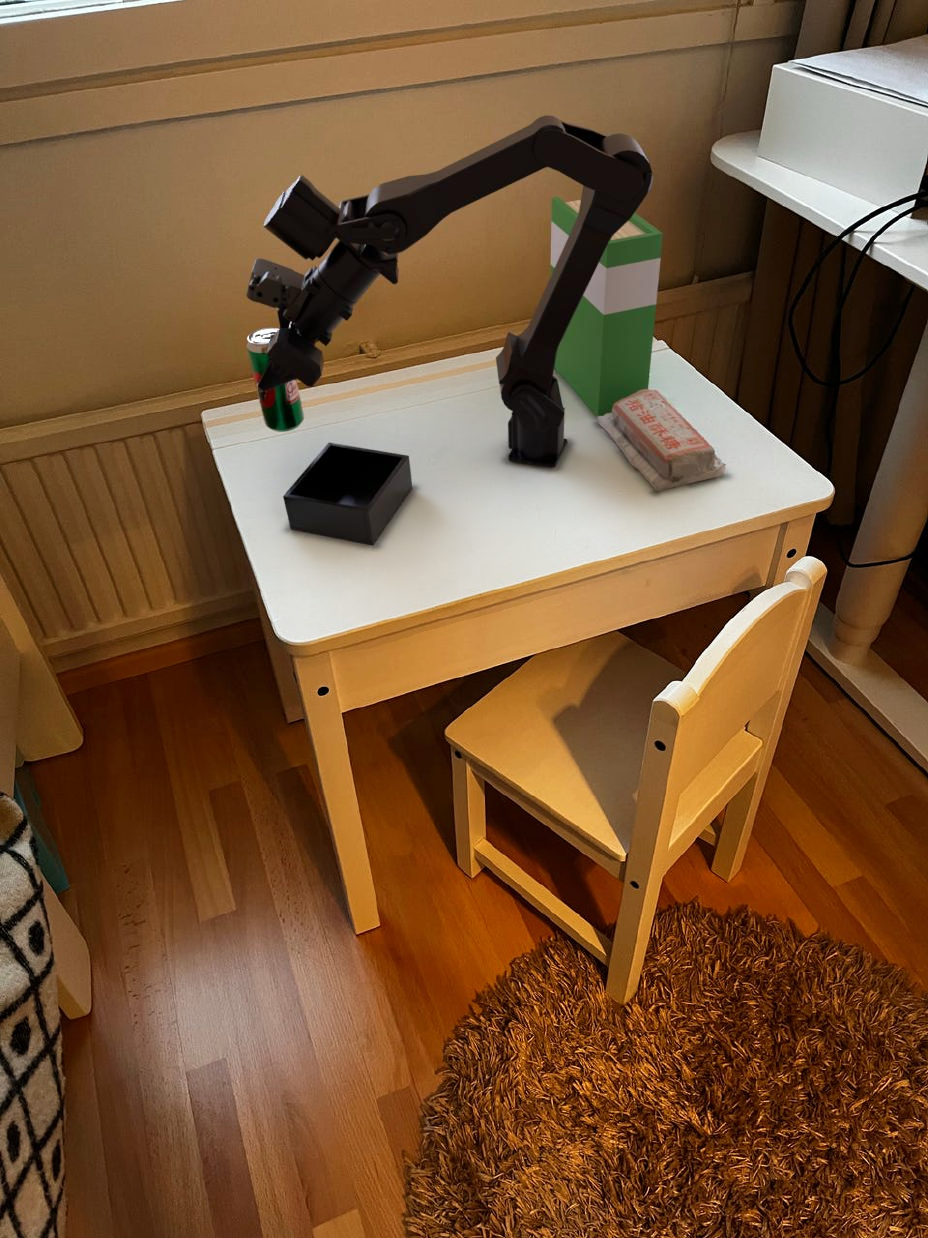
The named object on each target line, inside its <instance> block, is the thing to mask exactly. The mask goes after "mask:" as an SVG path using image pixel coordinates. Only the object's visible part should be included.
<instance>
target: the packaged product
mask: <svg viewBox="0 0 928 1238" xmlns="http://www.w3.org/2000/svg"><path fill="white" fill-rule="evenodd" d="M596 417H597V423H598V424H599V425H600V426H601V428H603V429H604V430H605V431H606V432H607V433H608V434H609V436H610V437H611V439H612V440H613V441H614V442H615V444H616V445H617V446H618V448H619V449H620V450H621V451H622V453H623V454H624V456H625V458H626V459H627V461H628V463H629V464H630V465H631V466H632V467H634V468H635V469H637V470H638V471H639V472H640V473H641V474H642V475H643V477H644V478H645V479H646V480H647V481H648V483H649V484H650V485H651V486H652V487H653V489H654V490H655V491H663V490H666V489H670V488H674V487H679V486H683V485H684V486H685V485H688V484H693V483H697V482H701V481H705V480H709V479H714V478H718V477H722V476H725V473H726V472H725V471H726V466H727V464H726V463H724V462H722V459H721V458H720V457H719V456H718V455H717V454H716V451H715V448H714V447H712V445H710V443H709V442H708V441H707V440H706V439H705V438H704V437H703V436H702V435H701V433H699V432H698V430H697V429H695V428H694V427H693V426H692V424H691V423H690V422H689V421H687V419H685V418H684V417H683V415H682V414H681V413H680V412H679V411H678V410H677V409H676V408H675V407H673V405H672V404H671V403H670V402H669V401H668V400H667V399H666V398H665V397H664V396H663V395H662V394H661V392H660V391H658V389H649V388H648V389H643V390H639V391H637V392H636V393H634V394H632V395H630V396H628V397H625V398H622V399H621V400H619V401H618V402H616V403H614V405H613V408H612V412H611V413H606V414H605V415H604V416H596Z"/></svg>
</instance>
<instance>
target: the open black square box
mask: <svg viewBox="0 0 928 1238" xmlns="http://www.w3.org/2000/svg"><path fill="white" fill-rule="evenodd" d="M412 490H413V480H412V471H411V461H410V455H407V454H401V453H396V452H395V453H394V452H390V451H383V450H378V449H377V450H376V449H370V448H364V447H360V446H353V445H348V444H347V445H346V444H341V443H334V442H327V444H326V445H325V446H324V447H323V448H322V450H321V451H320V452H319V453H318V454H317V456H316V457H315V458H314V459H313V460H312V461H311V463H310V464H309V465H308V466H307V467H306V468H305V470H304V471H303V472H302V473H301V474H300V476H299V477H298V478H297V479H296V480H295V481H294V482H293V484H292V485H291V486H290V487H289V488H288V490H287V491H286V492H285V493H284V494H283V496H282V498H283V502H284V506H285V511H286V516H287V519H288V524H289V528H290V530H291V531H297V532H302V533H306V534H312V535H317V536H322V537H327V538H331V539H337V540H341V541H346V542H347V541H348V542H352V543H356V544H362V545H368V546H372V547H374V546H375V544H376V543H377V542H378V540H379V538H381V535H382V534H383V532H384V531H385V529H386V528H387V527H388V526H389V524H390V522H391V521H392V520H393V518H394V517H395V515H396V514H397V512H398V511H399V509H400V508H401V507H402V505H403V503H404V502H405V501H406V499H407V498H408V496H409V494H410V493H411V492H412Z"/></svg>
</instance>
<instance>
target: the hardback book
mask: <svg viewBox="0 0 928 1238" xmlns="http://www.w3.org/2000/svg"><path fill="white" fill-rule="evenodd" d="M580 202H581V199H577V200H572V201H567V202H565V201H564V200H563V199H562V198H560V197H559V196H555V197H551V205H550V206H551V211H550V213H551V214H550V224H551V225H550V276H551V275H552V273H553V270H554V268H555V266H556V264H557V262H558V259H559V257H560V255H561V253H562V250H563V248H564V246H565V244H566V242H567V239H568V237H569V235H570V233H571V230H572V228H573V226H574V224H575V222H576V219H577V217H578V213H579V208H580ZM663 238H664V233H663V232H661V231H660V230H659V229H658V228H657V227H655V226H654V225H652V224H651V223H649V222H648V221H647V220H645V219H644V218H642V217H641V216H640V215H639V214H637V213H636V212H635V213H634V214H633V216H632V217H631V218H630V220H629V221H628V222H627V223H625V224H624V225H623V226H622V227H621V228H620V229H619V230H618V231H617V232H616V233H615V234H614V235H613V236H612V238H611V239H610V241H609V243H608V245H607V247H606V249H605V251H604V253H603V255H602V257H601V259H600V261H599V263H598V266H597V268H596V270H595V272H594V274H593V276H592V278H591V280H590V282H589V284H588V286H587V288H586V290H585V293H584V295H583V297H582V299H581V301H580V303H579V305H578V307H577V309H576V311H575V313H574V315H573V317H572V320H571V322H570V324H569V326H568V328H567V330H566V332H565V334H564V336H563V338H562V340H561V342H560V344H559V347H558V350H557V355H556V361H555V367H554V370H556V372H558V374H559V375H560V376H561V377H562V378H563V379H564V381H565V382H566V384H568V385H569V386H570V388H571V389H572V391H574V393H576V394H577V396H578V397H579V399H581V401H582V402H583V403H584V404H585V405H586V406H587V408H589V410H590V411H591V412H592V413H593V414H594V415H595V416H596V417H597V416H604V415H605V414H606V413H611V412H612V408H613V405H614V403H616V402H618V401H619V400H621V399H622V398H625V397H628V396H630V395H632V394H634V393H636V392H637V391H639V390H643V389H649V384H650V374H651V363H652V352H653V344H654V343H653V341H654V331H655V323H656V321H655V320H656V312H657V299H658V290H659V278H660V271H661V258H662V249H663Z"/></svg>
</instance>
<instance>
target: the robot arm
mask: <svg viewBox="0 0 928 1238" xmlns="http://www.w3.org/2000/svg"><path fill="white" fill-rule="evenodd" d="M546 168H549V169H551V170H554V171H557V172H559V173H561V174H562V175H564V176H566V177H568V178H569V179H571V180H573V181H575V182H577V183H578V184H580V185H582V191H581V196H580V200H581V202H580V208H579V213H578V217H577V219H576V222H575V224H574V226H573V228H572V230H571V233H570V235H569V237H568V239H567V242H566V244H565V246H564V248H563V250H562V253H561V255H560V257H559V259H558V262H557V264H556V266H555V268H554V270H553V273H552V275H551V274H550V277H549V279H548V282H547V284H546V286H545V288H544V291H543V293H542V295H541V297H540V299H539V301H538V304H537V306H536V309H535V311H534V313H533V315H532V318H531V319H530V322H529V324H528V326H527V327H526V328H525V329H524V330H523V331H522V332H520V334H519V335H518V336H517V335H516V334H514V333H512V332H511V331H508V332H507V334H506V337H505V341H504V345H503V347H502V350H501V351H500V352H499V354H497V355H496V356H495V362H496V369H497V378H498V384H499V389H500V398H501V401H502V403H503V405H504V407H505V408H507V409H508V410H509V411H511V417H510V418H509V420H508V421H507V443H508V444H507V445H508V449H509V450H510V452H509V454H508V455H507V460H508V461H509V462H514V463H520V464H527V465H533V466H539V467H546V468H551V469H552V468H555V467H556V466H557V465H558V462H559V460H560V459H561V457H562V455H563V453H564V451H565V449H566V447H567V445H568V439H567V438H565V414H566V413H565V412H566V411H565V409H566V408H565V407H564V404H563V399H562V395H561V391H560V385H559V381H558V379H557V377H555V376H554V372H555V368H554V367H555V361H556V355H557V350H558V347H559V344H560V342H561V340H562V338H563V336H564V334H565V332H566V330H567V328H568V326H569V324H570V322H571V320H572V317H573V315H574V313H575V311H576V309H577V307H578V305H579V303H580V301H581V299H582V297H583V295H584V293H585V290H586V288H587V286H588V284H589V282H590V280H591V278H592V276H593V274H594V272H595V270H596V268H597V266H598V263H599V261H600V259H601V257H602V255H603V253H604V251H605V249H606V247H607V245H608V243H609V241H610V239H611V238H612V236H613V235H614V234H615V233H616V232H617V231H618V230H619V229H620V228H621V227H622V226H623V225H624V224H625V223H627V222H628V221H629V220H630V218H631V217H632V216H633V214H634V213H636V212H637V210H638V208H639V207H640V205H642V203H643V201H644V200H645V198H646V197H647V196H648V194H649V192H650V190H651V187H652V184H653V179H654V175H653V171H652V166H651V163H650V161H649V160H648V158H647V157H646V154H645V153H644V151H643V149H642V147H641V146H640V144H639V143H638V141H637V140H636V138H634V137H632V136H631V135H630V134H625V133H621V132H620V133H613V134H610V135H606V134H604V133H600V132H598V131H596V130H594V129H591V128H588V127H584V126H580V125H576V124H571V123H569V122H566V121H563V120H560V119H559V118H558V117H556V116H554V115H547V114H546V115H542V116H539V117H538V118H536V119H535V120H534V121H533V122H531V123H530V124H528V125H527V126H525V127H522V128H521V129H518V130H516V131H515V132H513V133H510V134H509V135H507V136H505V137H503V138H501V139H499V140H496V141H495V142H493V143H491V144H489V145H486V146H485V147H482V148H480V149H479V150H477V151H474V152H473V153H470V154H469V155H467V156H465V157H462V158H460V159H458V160H457V161H454V162H453V163H450V164H448V165H447V166H444V167H442V168H440V169H438V170H436V171H433V172H430V173H426V174H425V173H424V174H416V175H415V174H414V175H407V176H403V177H400V178H397V179H393V180H390V181H389V180H388V181H385V182H383V183H380V184H379V185H377V186H375V187H374V188H373V189H371V192H369V194H366V195H362V196H357V197H353V198H348V199H344V200H340V202H339V204H338V206H337V205H336V204H335V203H334V202H333V201H331V199H329V198H328V197H327V196H325V195H324V194H323V193H322V192H321V191H320V190H319V189H317V188H316V187H315V185H314V184H313V182H312V181H311V180H309V179H308V178H307V177H305V176H304V175H303V174H300V175H299V176H298V177H297V179H296V180H295V182H292V184H291V185H290V186H289V187H288V189H286V191H285V190H283V191H282V193H281V195H280V196H279V197H278V199H277V200H276V202H275V203H274V205H272V208H271V209H270V211H269V213H268V215H267V216H266V218H265V220H264V222H263V225H262V226H263V228H264V229H266V230H267V231H268V232H269V233H270V234H272V235H273V236H274V237H276V238H277V239H278V240H280V241H281V242H282V243H283V244H285V245H286V247H289V248H290V249H291V250H292V251H294V252H295V253H296V254H297V255H299V256H300V257H301V258H302V259H304V260H306V261H307V260H308V259H309V260H311V261H312V262H313V261H314V260H315V259H316V258H318V259H321V258H322V257H323V256H324V255H325V254H326V252H327V251H328V250H329V248H330V247H331V246H332V244H333V243H334V241H335V240H336V239H337V240H338V241H337V242H336V243H335V244H334V246H333V247H332V249H331V250H330V251H329V252H328V254H327V255H326V256H325V258H324V259H323V260H322V262H321V263H320V264H319V266H316V265H314V267H310V268H309V269H308V270H307V271H306V272H305V274H302V273H300V272H297V271H296V270H295V269H292V268H290V267H287V266H285V265H281V264H280V263H277V262H274V261H271V260H268V259H265V258H260V257H258V258H256V259H255V260H254V264H253V266H252V269H251V273H250V277H249V282H248V286H247V290H246V295H245V296H246V298H247V299H248V300H250V301H252V302H255V303H258V304H261V305H264V306H267V307H269V308H273V309H276V308H277V311H276V314H277V319H278V324H279V328H278V329H279V330H278V331H277V332H276V333H275V335H274V336H273V335H271V337H270V340H269V344H268V350H267V354H266V355H267V356H268V358H269V359H270V361H269V363H268V365H267V367H266V369H265V371H264V373H263V375H262V377H261V379H260V381H259V383H258V388H260V389H261V390H263V391H267V390H270V389H272V388H275V387H277V386H280V385H282V384H285V383H287V382H290V381H293V380H298V381H299V382H301V383H302V384H304V385H305V386H307V387H310V388H312V387H314V385H315V384H316V383H317V382H318V381H319V380H320V378H321V377H322V376H323V370H324V364H325V359H324V355H323V351H322V350H321V349H320V348H319V347H317V346H316V343H318V342H320V343H321V344H323V345H324V346H325V347H327V346H328V345H329V344H330V343H331V341H332V337H333V333H334V331H335V330H336V329H337V328H338V326H339V325H340V324H341V323H342V321H343V320H345V321H347V322H348V320H350V318H351V317H352V316H353V311H354V307H355V305H357V303H358V302H359V301H360V300H361V298H362V297H363V296H364V294H365V293H366V292H367V291H368V290H369V289H370V287H371V286H372V285H373V284H374V282H375V281H376V280H377V279H378V278H379V276H382V277H383V278H385V279H386V280H387V281H389V283H390V284H392V285H397V284H398V282H399V272H400V271H399V266H398V262H399V254H401V253H403V252H405V251H406V250H408V249H409V248H410V247H412V246H414V245H415V244H416V243H418V242H419V241H421V240H422V239H423V238H424V237H426V236H427V235H429V233H430V232H432V230H434V228H436V226H437V225H439V224H440V223H441V222H442V221H443V220H444V219H445V218H446V217H448V216H449V215H451V214H452V213H455V212H457V211H459V210H461V209H463V208H465V207H467V206H469V205H471V204H473V203H475V202H477V201H479V200H481V199H483V198H486V197H488V196H489V195H491V194H494V193H496V192H498V191H500V190H502V189H504V188H506V187H509V186H510V185H513V184H514V183H516V182H518V181H520V180H523V179H525V178H527V177H529V176H531V175H533V174H535V173H538V172H540V171H541V170H544V169H546Z"/></svg>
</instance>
